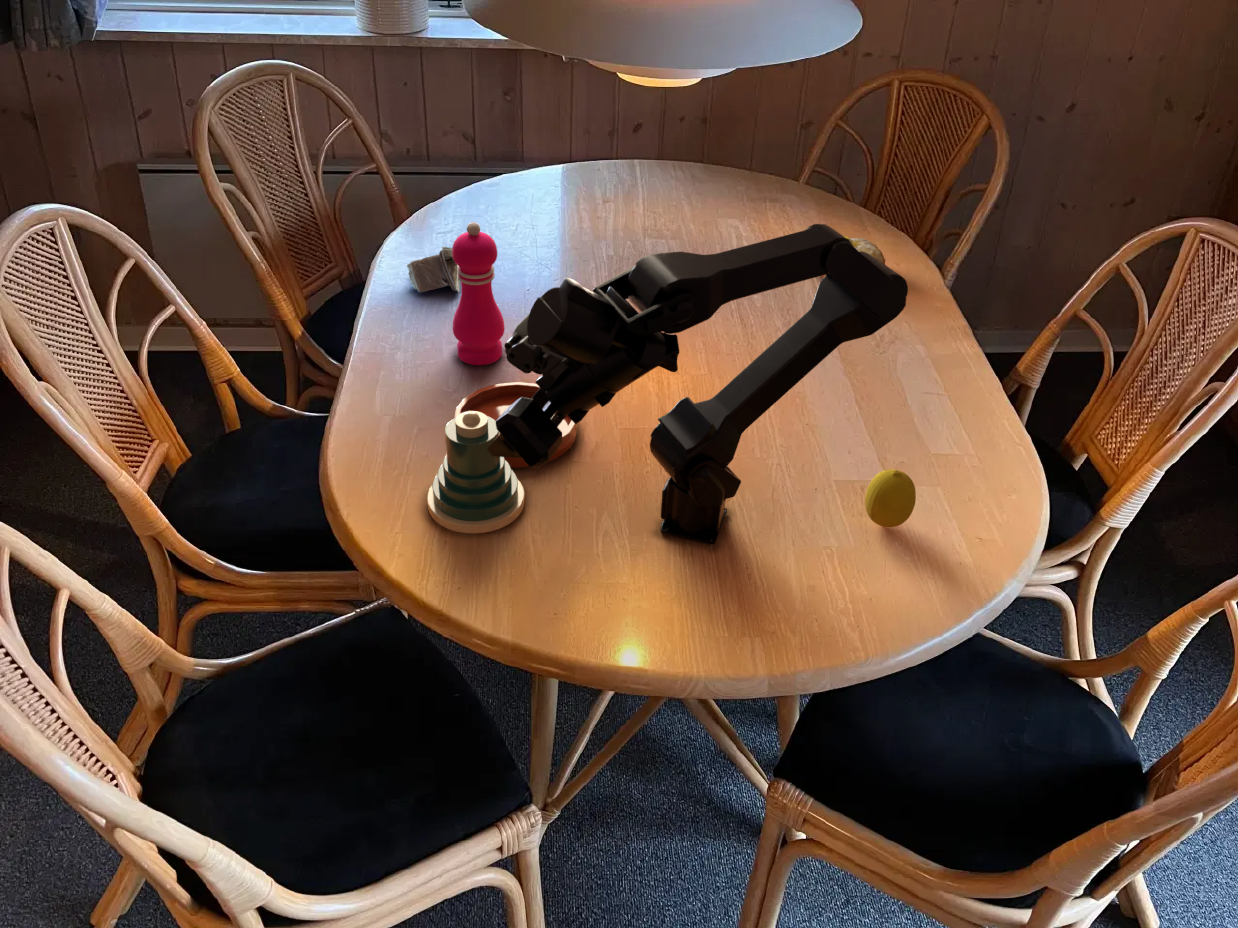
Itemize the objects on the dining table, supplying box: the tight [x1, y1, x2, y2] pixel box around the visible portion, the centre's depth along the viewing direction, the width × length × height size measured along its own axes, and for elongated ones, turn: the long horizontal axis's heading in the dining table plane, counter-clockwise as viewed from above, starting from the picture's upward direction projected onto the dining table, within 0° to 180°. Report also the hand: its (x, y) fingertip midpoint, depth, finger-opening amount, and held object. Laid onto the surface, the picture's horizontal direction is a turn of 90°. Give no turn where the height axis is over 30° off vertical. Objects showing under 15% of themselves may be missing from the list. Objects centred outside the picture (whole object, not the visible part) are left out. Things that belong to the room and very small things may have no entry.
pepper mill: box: [451, 221, 506, 366], centre depth 144 cm, size 7×7×20 cm
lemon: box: [864, 468, 917, 528], centre depth 120 cm, size 6×6×8 cm
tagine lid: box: [426, 411, 525, 534], centre depth 119 cm, size 11×11×13 cm
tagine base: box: [453, 381, 578, 468], centre depth 134 cm, size 15×16×3 cm
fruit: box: [820, 235, 886, 279], centre depth 172 cm, size 11×10×8 cm
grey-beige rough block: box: [406, 246, 461, 294], centre depth 165 cm, size 10×7×12 cm
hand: (510, 429), depth 114 cm, fingers open, 9 cm apart
